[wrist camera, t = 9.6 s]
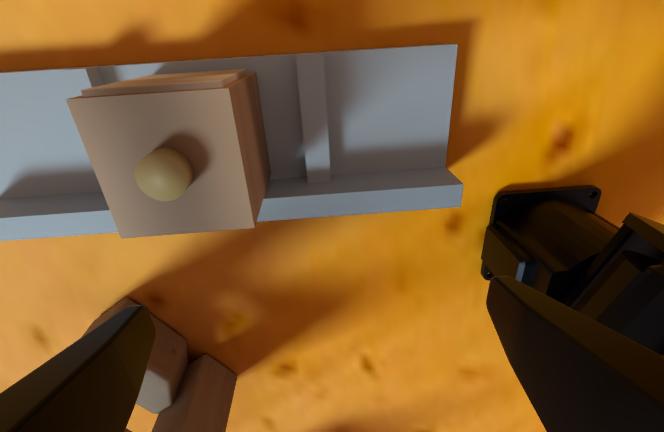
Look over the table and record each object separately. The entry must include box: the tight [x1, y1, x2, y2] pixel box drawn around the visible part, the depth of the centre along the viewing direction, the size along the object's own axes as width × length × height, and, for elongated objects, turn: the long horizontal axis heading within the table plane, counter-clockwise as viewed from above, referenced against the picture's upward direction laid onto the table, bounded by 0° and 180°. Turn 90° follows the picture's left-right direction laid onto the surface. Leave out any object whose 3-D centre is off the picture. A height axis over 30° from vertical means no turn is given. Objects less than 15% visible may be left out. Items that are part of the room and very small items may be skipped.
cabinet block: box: [66, 69, 271, 238], centre depth 14 cm, size 5×5×7 cm
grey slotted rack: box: [0, 44, 464, 241], centre depth 17 cm, size 24×7×4 cm, turn 93°
